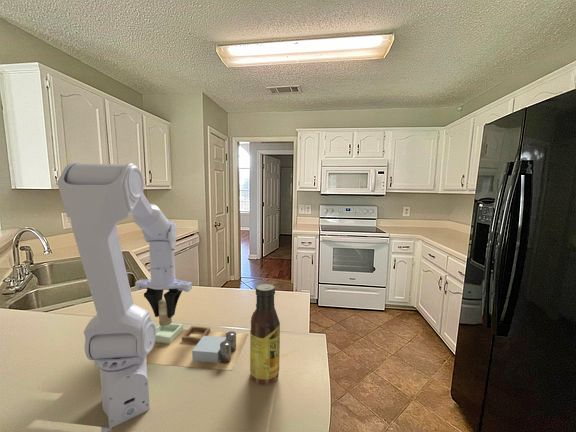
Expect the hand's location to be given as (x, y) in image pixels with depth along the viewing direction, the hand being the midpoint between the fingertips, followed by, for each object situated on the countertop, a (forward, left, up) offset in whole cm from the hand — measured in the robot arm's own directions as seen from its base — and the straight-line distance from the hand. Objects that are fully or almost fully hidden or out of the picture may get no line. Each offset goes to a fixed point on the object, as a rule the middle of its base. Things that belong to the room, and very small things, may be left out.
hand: (165, 315), depth 67 cm
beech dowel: (0, 0, -2) cm, 2 cm away
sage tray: (0, 0, -6) cm, 6 cm away
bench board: (-9, -4, -6) cm, 12 cm away
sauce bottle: (-28, -13, -7) cm, 32 cm away
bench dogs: (-17, -10, -6) cm, 21 cm away
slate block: (-14, -6, -6) cm, 17 cm away
